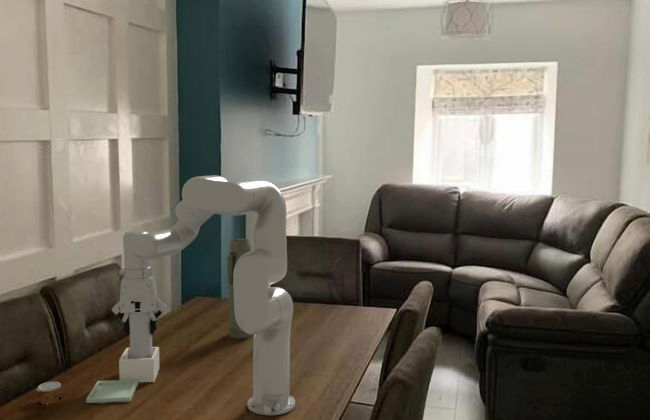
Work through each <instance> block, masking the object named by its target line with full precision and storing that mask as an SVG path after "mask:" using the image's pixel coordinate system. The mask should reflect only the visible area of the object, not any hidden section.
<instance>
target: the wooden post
mask: <svg viewBox="0 0 650 420" xmlns="http://www.w3.org/2000/svg"><path fill="white" fill-rule="evenodd" d="M251 251H252V245H251V242H250V239H247V238H245V237H243V238H242V237H238V238H233V239H231V242H230V246H229V253H228V255H227V258H226V259H227V264H226V265H227V269H226V271H227V273H226V274H227V288H228V290H229V315H228V320H227V321H228V331H229V333H228V337H229V338H231V339H234V340H246V339H249V338H252V337H254V334H248V333H246V332H244V331H243V330H242V329H241V328H240V327H239V326H238V324H237V322H236V318H235V313H234V288H233V272H234V267H235V264H236V262H237V260H238V259H239V258H240V257H241V256H242V255H243V254H245V253H247V252H251Z"/></svg>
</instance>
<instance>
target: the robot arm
mask: <svg viewBox="0 0 650 420" xmlns="http://www.w3.org/2000/svg"><path fill="white" fill-rule="evenodd" d="M181 198H182V200H181V201H180V202H179V203H178V204H177V205H176V207H175V210H174V212H175V216H176V219H177V221H176V223H175V224H174V225H172V226H171V227H170V228H168V229H163V230H158V231H157V230H156V231H153V232H148V231H147V230H139V229H138V230H137V229H136V230H129V231H126V232H124V234H123V235H122V241H123V242H122V246H123V248H122V249H123V267H124V268H123V269H119V270H118V271H119V272H118V273H119V275H122V276H123V278H122V279H121V282H120V291H119V293H120V294H119V301H118V302H117V303H116V304H115V305H114V306H112V308H111V311H112V312H113V313H114V314H115V315H116V316H117V317H118V318H119V319H121V321H122V323H123V332H124V333H125V336H130V333H129V314H131V313H134V312H135V310H141V312H143V313H149V315H150V317H151V321H150V332H151V334H152V335H154V333H155V332H156V331H157V319H158V318H159V317H160V316H162V314H163V313H164V312H165V311H166V309H167V308H168V306H167V304H165V303H164V302H163V301H162V300H161V299H160V298H159V297H158V292H157V285H156V281H155V280H156V279H155V277H154V276H153V275H152V273H153V272H152V260H156V259H161V258H164V257H169V256H172V255H176V254H178V253H180V252H182V251H183V250H184V249H185V248H187V246H188V245H190V244H191V243H192V242H193V241H194V240H196V238H197V237H198V235H199V232H200V227H201V226H203V224H204V223H205V222H207V221H208V220H209V219H210V218H211V217H212V216H213V215H221V216H231V217H233V216H234V217H237V216H243V215H248V214H252V213H253V214H254V213H255V214H256V219H255V221H254V225H253V230H252V238H253V243H252V246H253V247H252V250H251V252H247V253H245V254H243V255H242V256H241V257H240V258H239V259H238V260H237V262H236V264H235V267H234V272H233V288H234V313H235V318H236V322H237V324H238V326H239V327H240V328H241V329H242V330H243V331H244V332H246V333H248V334H253V344H252V360H253V361H252V362H253V363H252V365H253V366H252V368H253V369H252V372H253V373H252V375H253V376H252V379H253V381H252V382H253V383H252V384H253V387H252V388H253V389H252V390H253V391H252V393H253V394H252V396H251V397H250V398H249V399H248V401H247V405H246V406H247V408H248V410H249V411H250V412H252V413H254V414H257V415H259V416H260V415H261V416H279V415H280V416H281V415H283V414H286V413H289V412H291V411H292V410H294V409H295V407H296V399H295V397H294V396H292V395H290V380H291V379H290V378H291V377H290V370H291V369H290V366H291V365H290V363H291V361H290V360H291V359H290V358H291V357H290V353H291V352H290V351H291V345H290V344H291V328H292V321H293V313H294V302H293V298H292V296H291V294H289V293H290V292H288V291H287V290H285V289H284V288H282V287H278V286H271V285H273V284H277V283H278V282H280V281H282V280H283V279H284V278H285V276H286V275H287V271H288V250H287V249H288V247H287V246H288V243H287V242H288V241H287V239H288V238H287V204H286V203H287V202H286V200H285V197H284V194H283V193H282V191H281V190H280V189H279V188H278V187H277V186H276V185H275V184H273V183H272V182H270V181H266V180H263V179H262V180H261V179H246V180H239V181H229V180H227V179H226V178H225V177H223V176H221V175H218V174H215V175H213V174H211V175H201V176H199V175H197V176H194V177H191V178H190V179H188V180H187V181H185V183H184V184H183V187H182V190H181ZM269 286H271V287H269ZM131 301H134V302H141V303H140V304H141V305H140V309H135V305H134V304H135V303H133V304H131ZM157 307H160V308H159V309H158V311H156V310H157Z"/></svg>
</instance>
